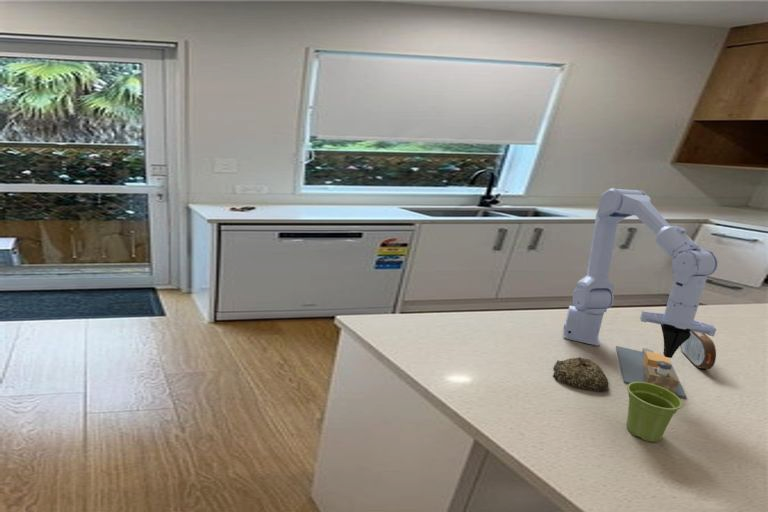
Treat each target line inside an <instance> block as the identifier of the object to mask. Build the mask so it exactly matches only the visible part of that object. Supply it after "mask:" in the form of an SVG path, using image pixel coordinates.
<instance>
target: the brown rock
mask: <svg viewBox="0 0 768 512" xmlns="http://www.w3.org/2000/svg"><path fill="white" fill-rule="evenodd" d="M552 370H553V375H552V377H553V378H554V379H555V381H557V382H559V383H561V384H563V385H567V386H570V387H574V388H578V389H582V390H587V391H597V392H600V393H602V392H607V391H608V389H609V383H610V382H609V379H608V377H607V376H606V374H605V372H604V371H603V369H602V368H601V366H599V365H598V364H597V363H595V362H594V361H593V360H591V359H589V358H586V357H585V358H584V357H581V356H578V357H576V358H574V357H572V358H568V359H564V360H556V362H555V363H554V367H553V369H552Z"/></svg>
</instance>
